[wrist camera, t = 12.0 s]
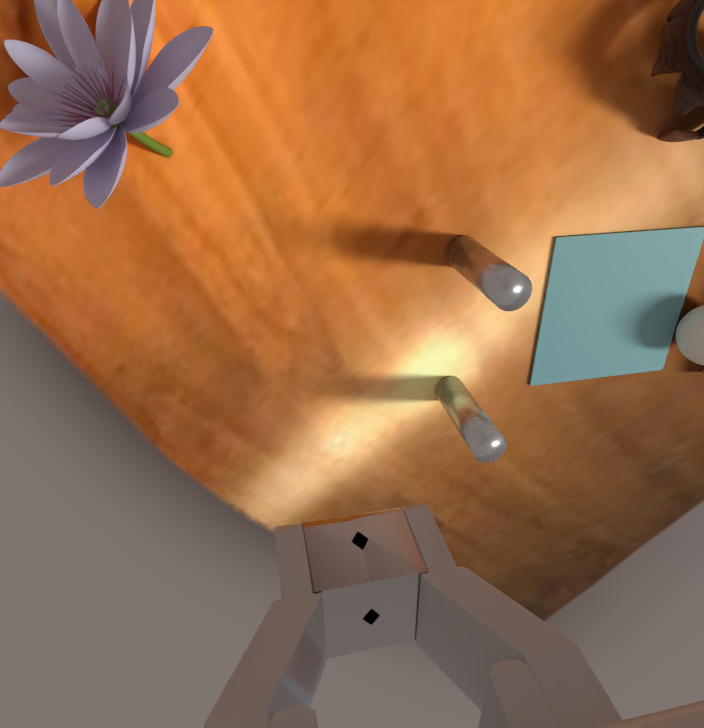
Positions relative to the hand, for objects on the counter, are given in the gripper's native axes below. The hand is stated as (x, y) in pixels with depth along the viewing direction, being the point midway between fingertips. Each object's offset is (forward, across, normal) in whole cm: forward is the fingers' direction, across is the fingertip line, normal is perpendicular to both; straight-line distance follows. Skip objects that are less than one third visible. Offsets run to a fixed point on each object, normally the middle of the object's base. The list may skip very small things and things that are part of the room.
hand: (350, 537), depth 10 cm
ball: (+28, -38, +13) cm, 50 cm away
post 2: (+31, -15, +17) cm, 39 cm away
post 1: (+31, -15, +5) cm, 35 cm away
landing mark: (+31, -30, +11) cm, 45 cm away
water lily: (+32, +9, -8) cm, 34 cm away
